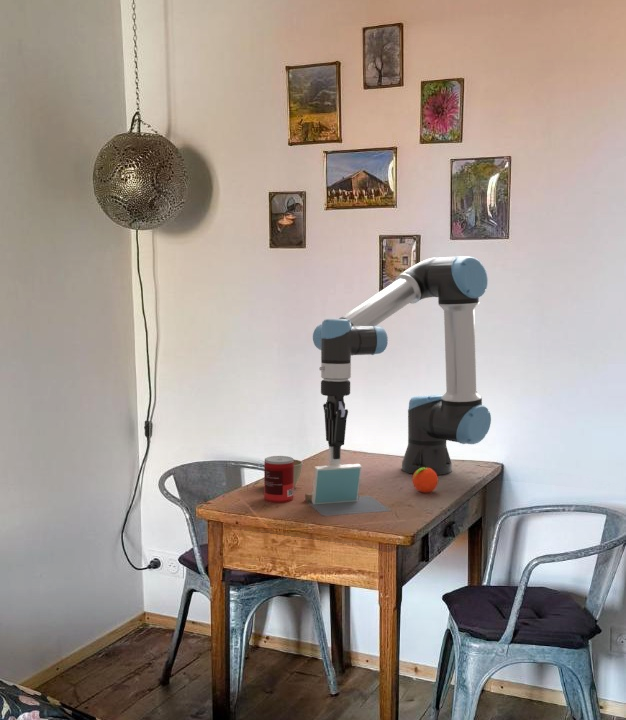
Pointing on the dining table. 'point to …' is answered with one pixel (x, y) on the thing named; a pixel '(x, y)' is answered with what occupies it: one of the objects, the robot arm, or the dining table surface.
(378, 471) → the dining table surface
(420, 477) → the clementine
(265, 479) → the canned food
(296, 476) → the flower pot
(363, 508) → the mat
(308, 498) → the strip
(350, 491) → the tile
